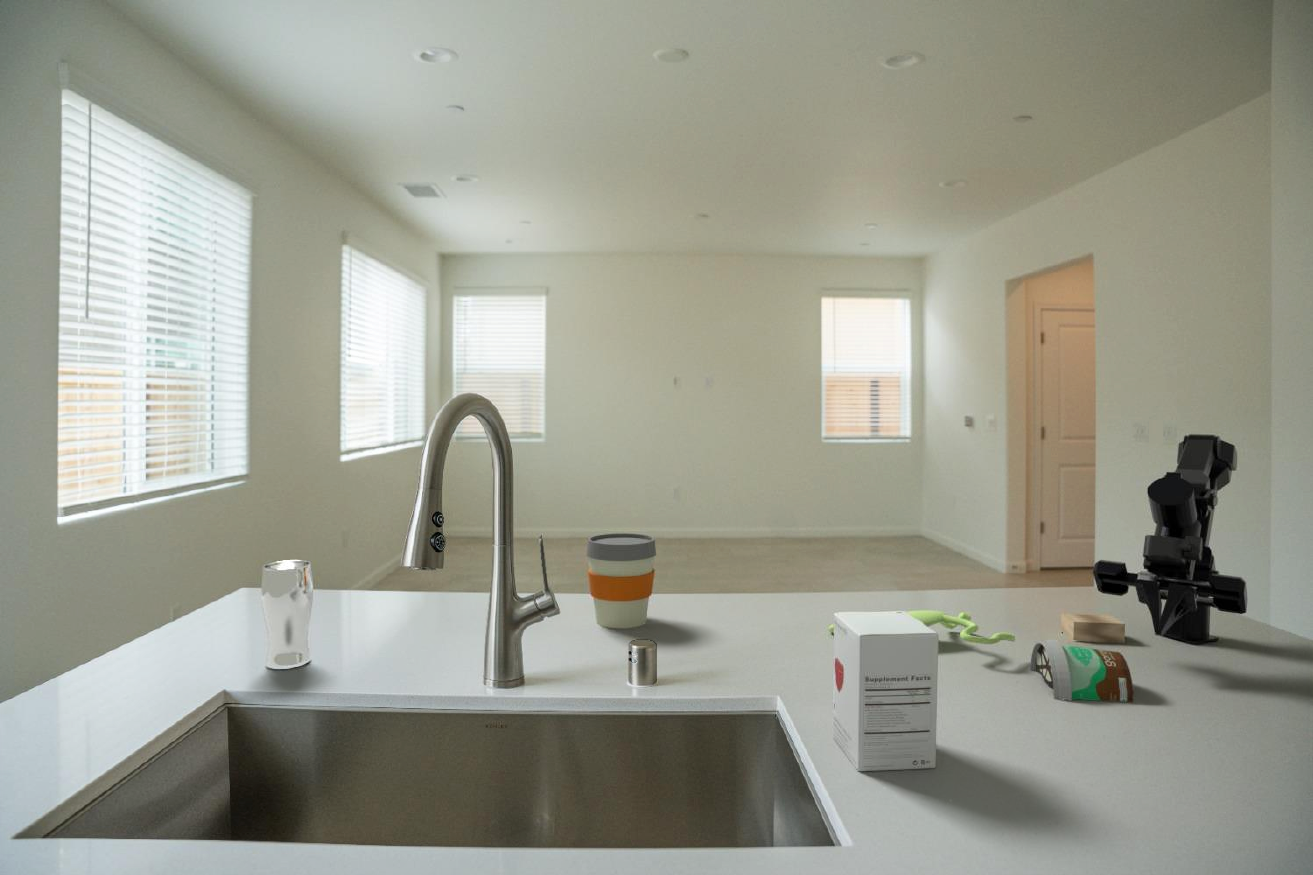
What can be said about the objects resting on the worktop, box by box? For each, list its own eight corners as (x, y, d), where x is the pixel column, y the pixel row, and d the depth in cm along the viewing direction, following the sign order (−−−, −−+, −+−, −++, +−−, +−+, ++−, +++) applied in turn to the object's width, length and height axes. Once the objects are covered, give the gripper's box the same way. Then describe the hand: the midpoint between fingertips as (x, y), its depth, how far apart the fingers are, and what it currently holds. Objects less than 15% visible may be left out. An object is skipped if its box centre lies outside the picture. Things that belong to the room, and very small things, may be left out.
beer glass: (324, 659, 116) (322, 562, 115) (285, 673, 110) (283, 570, 109) (292, 653, 119) (290, 558, 118) (252, 666, 113) (250, 566, 112)
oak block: (1110, 635, 131) (1110, 615, 130) (1124, 644, 126) (1125, 623, 126) (1060, 633, 132) (1061, 613, 131) (1073, 642, 127) (1073, 621, 126)
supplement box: (830, 736, 90) (831, 610, 89) (903, 733, 90) (905, 609, 90) (856, 773, 81) (858, 633, 80) (938, 770, 81) (940, 631, 81)
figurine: (1023, 671, 113) (1024, 634, 113) (841, 664, 116) (841, 628, 115) (981, 634, 132) (982, 602, 131) (825, 629, 134) (825, 597, 134)
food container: (1139, 659, 99) (1055, 654, 101) (1138, 706, 99) (1054, 699, 101) (1104, 631, 111) (1030, 627, 113) (1102, 673, 111) (1029, 668, 113)
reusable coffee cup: (572, 620, 138) (572, 538, 137) (625, 608, 146) (625, 530, 146) (616, 636, 128) (616, 547, 128) (670, 622, 137) (670, 539, 136)
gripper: (1097, 508, 119) (1076, 591, 111) (1248, 521, 106) (1235, 615, 99) (1108, 550, 125) (1089, 632, 118) (1252, 567, 112) (1240, 659, 105)
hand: (1158, 633), depth 109 cm, fingers closed
